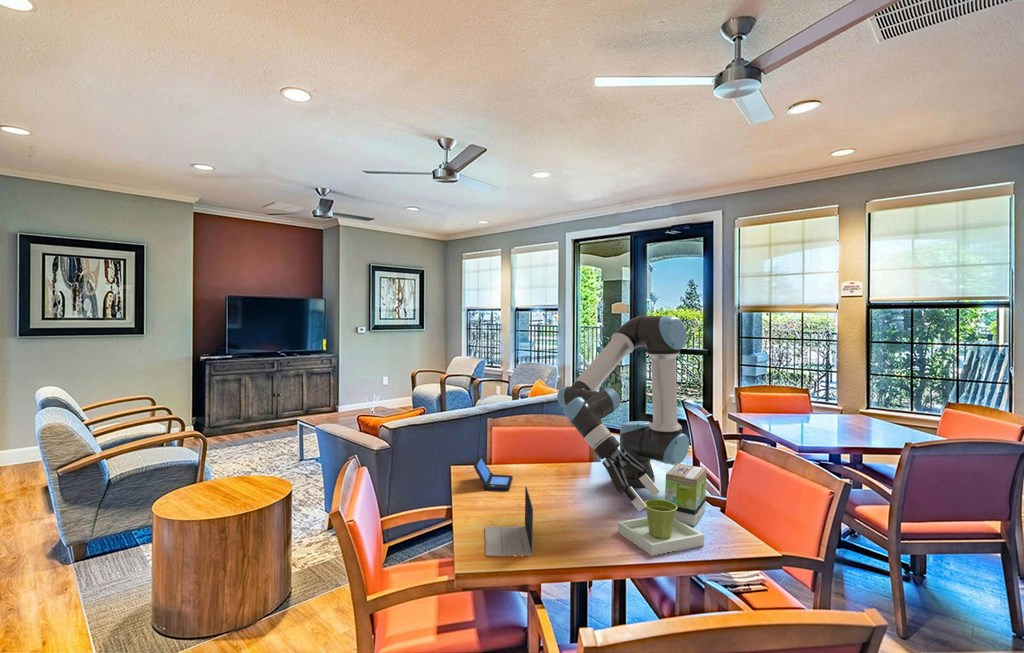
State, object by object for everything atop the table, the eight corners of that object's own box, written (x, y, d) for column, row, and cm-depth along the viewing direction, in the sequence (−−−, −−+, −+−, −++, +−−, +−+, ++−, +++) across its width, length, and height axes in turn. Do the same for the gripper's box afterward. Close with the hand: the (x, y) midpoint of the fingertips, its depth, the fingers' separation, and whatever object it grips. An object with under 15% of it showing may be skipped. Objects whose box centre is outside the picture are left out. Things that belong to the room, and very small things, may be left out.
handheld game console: (509, 492, 181) (509, 467, 181) (472, 490, 182) (473, 465, 182) (512, 478, 197) (513, 455, 196) (479, 477, 198) (479, 453, 198)
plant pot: (653, 543, 139) (653, 512, 139) (637, 529, 148) (638, 500, 148) (683, 540, 141) (684, 510, 141) (666, 526, 150) (666, 498, 150)
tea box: (696, 527, 152) (697, 479, 152) (663, 519, 158) (664, 473, 157) (706, 511, 165) (707, 467, 165) (675, 504, 170) (676, 461, 170)
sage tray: (666, 523, 155) (666, 513, 155) (704, 545, 140) (704, 534, 140) (617, 531, 148) (617, 521, 148) (651, 556, 133) (652, 545, 133)
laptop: (484, 529, 149) (485, 486, 149) (526, 528, 150) (526, 485, 150) (485, 558, 132) (486, 509, 131) (533, 557, 132) (533, 508, 132)
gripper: (609, 440, 164) (653, 495, 157) (577, 459, 143) (626, 523, 136) (625, 426, 161) (670, 481, 154) (594, 443, 140) (646, 508, 133)
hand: (650, 501), depth 145 cm, fingers open, 13 cm apart
